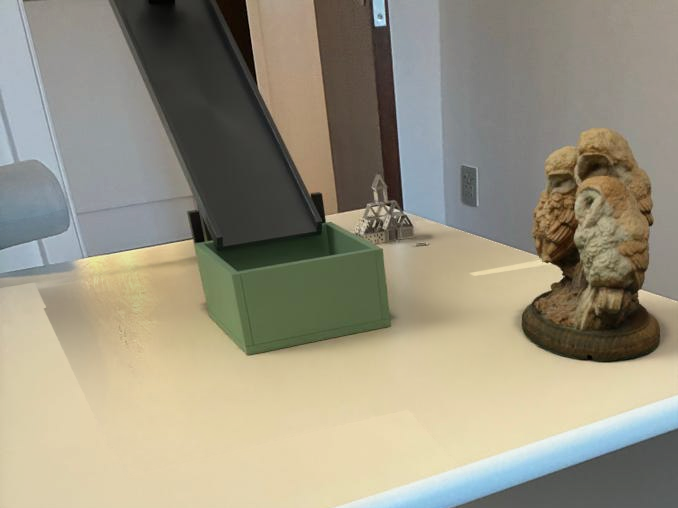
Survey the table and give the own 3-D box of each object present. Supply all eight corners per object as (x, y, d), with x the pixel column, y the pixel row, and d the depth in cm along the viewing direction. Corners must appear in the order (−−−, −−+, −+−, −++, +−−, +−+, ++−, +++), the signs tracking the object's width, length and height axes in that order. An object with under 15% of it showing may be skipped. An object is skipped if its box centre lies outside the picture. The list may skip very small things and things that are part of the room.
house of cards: (365, 255, 118) (357, 188, 113) (341, 242, 124) (333, 177, 120) (431, 244, 121) (426, 178, 116) (404, 231, 127) (399, 168, 123)
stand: (210, 314, 101) (189, 212, 95) (168, 271, 116) (147, 182, 110) (335, 291, 105) (322, 193, 100) (279, 253, 121) (264, 166, 115)
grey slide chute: (217, 251, 95) (215, 210, 91) (106, -4, 107) (99, -52, 102) (321, 234, 99) (324, 194, 95) (203, -10, 111) (201, -57, 106)
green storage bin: (247, 355, 89) (231, 274, 85) (209, 316, 100) (193, 243, 96) (391, 326, 94) (382, 248, 90) (340, 292, 105) (330, 221, 101)
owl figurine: (493, 315, 95) (485, 123, 85) (599, 298, 98) (603, 110, 88) (570, 371, 81) (572, 149, 71) (691, 349, 84) (709, 133, 75)
